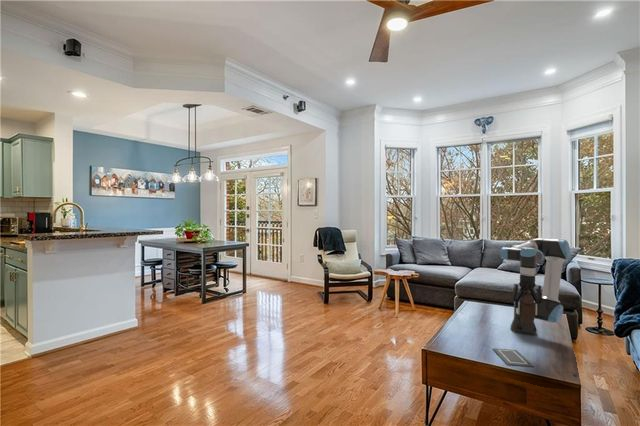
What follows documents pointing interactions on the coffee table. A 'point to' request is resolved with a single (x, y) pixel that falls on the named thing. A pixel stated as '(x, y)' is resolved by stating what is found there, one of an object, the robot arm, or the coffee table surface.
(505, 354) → the rest mat
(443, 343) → the coffee table surface
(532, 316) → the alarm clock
